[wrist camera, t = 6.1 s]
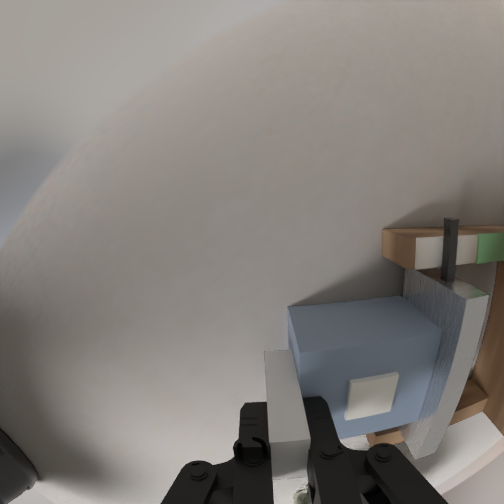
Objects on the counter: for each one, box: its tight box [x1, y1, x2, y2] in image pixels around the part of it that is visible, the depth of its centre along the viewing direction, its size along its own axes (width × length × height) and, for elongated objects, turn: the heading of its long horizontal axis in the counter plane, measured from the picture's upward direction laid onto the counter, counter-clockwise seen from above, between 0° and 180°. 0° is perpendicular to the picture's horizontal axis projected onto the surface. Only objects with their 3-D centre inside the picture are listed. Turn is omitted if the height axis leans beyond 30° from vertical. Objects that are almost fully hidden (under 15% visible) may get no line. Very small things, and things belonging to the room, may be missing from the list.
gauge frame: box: [365, 225, 504, 447], centre depth 13 cm, size 12×15×8 cm
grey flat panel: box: [397, 218, 489, 460], centre depth 13 cm, size 2×13×6 cm, turn 4°
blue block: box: [288, 295, 443, 439], centre depth 14 cm, size 7×6×5 cm
